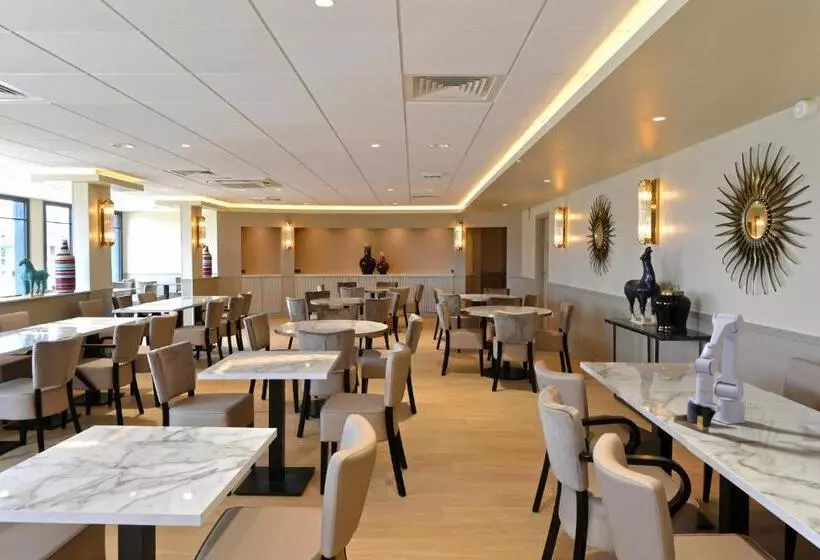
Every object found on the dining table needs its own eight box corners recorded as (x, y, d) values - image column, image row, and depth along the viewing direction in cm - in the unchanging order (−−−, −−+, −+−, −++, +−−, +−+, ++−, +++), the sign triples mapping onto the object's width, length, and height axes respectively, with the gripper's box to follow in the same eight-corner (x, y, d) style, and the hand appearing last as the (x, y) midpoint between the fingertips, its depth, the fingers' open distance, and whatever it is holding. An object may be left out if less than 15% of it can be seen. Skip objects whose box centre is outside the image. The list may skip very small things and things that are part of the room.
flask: (688, 423, 223) (689, 396, 223) (684, 421, 226) (685, 395, 225) (710, 423, 224) (711, 396, 223) (706, 421, 227) (707, 394, 226)
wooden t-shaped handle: (698, 419, 228) (698, 405, 228) (728, 430, 214) (729, 415, 213) (673, 421, 225) (674, 406, 225) (702, 432, 210) (703, 417, 210)
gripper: (681, 386, 218) (680, 420, 218) (710, 395, 204) (709, 432, 204) (696, 385, 219) (695, 419, 220) (726, 394, 205) (725, 430, 206)
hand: (703, 425), depth 212 cm, fingers closed on wooden t-shaped handle, 3 cm apart
